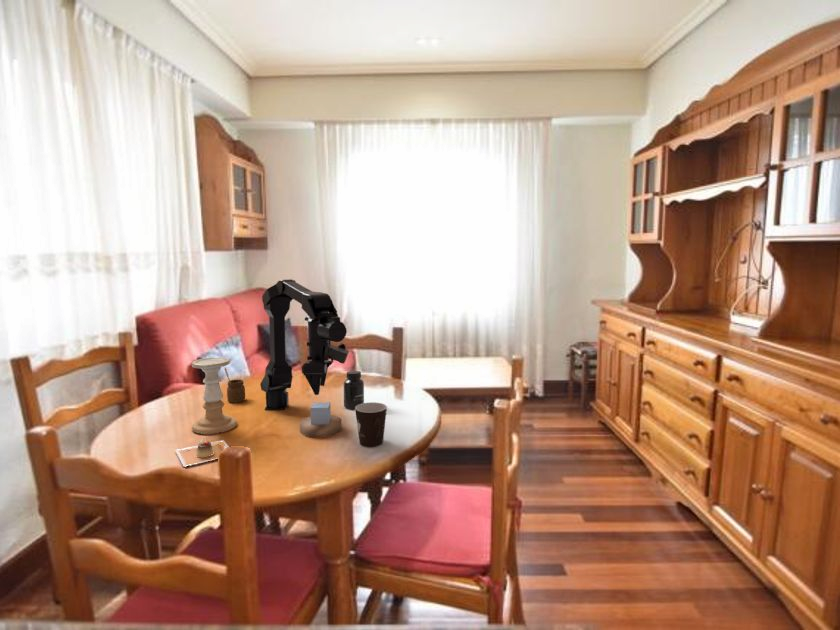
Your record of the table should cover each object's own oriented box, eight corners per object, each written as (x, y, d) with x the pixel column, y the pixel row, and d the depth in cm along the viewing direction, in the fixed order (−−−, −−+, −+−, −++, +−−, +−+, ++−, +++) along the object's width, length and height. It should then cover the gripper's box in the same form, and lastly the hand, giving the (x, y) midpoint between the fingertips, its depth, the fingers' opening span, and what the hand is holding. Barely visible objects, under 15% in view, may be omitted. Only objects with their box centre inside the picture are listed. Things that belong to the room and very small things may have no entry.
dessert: (235, 458, 121) (234, 440, 120) (183, 471, 114) (182, 452, 114) (223, 443, 131) (222, 426, 130) (175, 454, 124) (174, 436, 123)
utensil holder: (244, 402, 165) (243, 368, 164) (225, 403, 164) (223, 369, 162) (246, 397, 171) (244, 364, 169) (227, 398, 169) (226, 365, 168)
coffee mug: (358, 436, 135) (357, 402, 133) (388, 436, 134) (388, 402, 133) (351, 453, 123) (350, 416, 122) (384, 453, 123) (383, 416, 121)
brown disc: (296, 437, 133) (296, 429, 133) (304, 422, 145) (303, 415, 145) (339, 436, 134) (339, 428, 134) (343, 422, 146) (343, 414, 146)
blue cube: (310, 424, 137) (310, 407, 136) (313, 418, 142) (313, 402, 141) (328, 424, 137) (328, 407, 136) (330, 418, 142) (330, 402, 141)
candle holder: (182, 431, 138) (177, 363, 136) (214, 417, 150) (211, 355, 147) (214, 437, 134) (211, 367, 131) (245, 423, 145) (242, 358, 143)
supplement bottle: (360, 410, 157) (359, 375, 155) (340, 409, 158) (340, 374, 157) (366, 404, 164) (366, 370, 162) (347, 402, 165) (347, 369, 163)
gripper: (342, 343, 127) (343, 399, 129) (350, 332, 146) (351, 381, 148) (300, 343, 127) (302, 399, 129) (313, 332, 146) (315, 381, 148)
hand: (319, 390), depth 138 cm, fingers open, 9 cm apart
